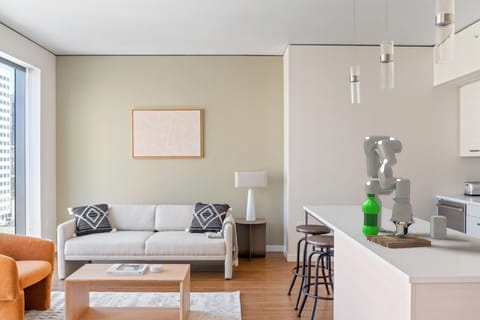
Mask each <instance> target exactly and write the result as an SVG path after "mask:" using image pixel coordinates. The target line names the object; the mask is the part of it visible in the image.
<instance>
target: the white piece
mask: <svg viewBox="0 0 480 320" xmlns="http://www.w3.org/2000/svg"><path fill="white" fill-rule="evenodd" d="M404 228H405V222H402V223H401V222H400V224H398V225H397V232H396V233H394V234H395V236H397V235H400V237H404Z"/></svg>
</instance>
